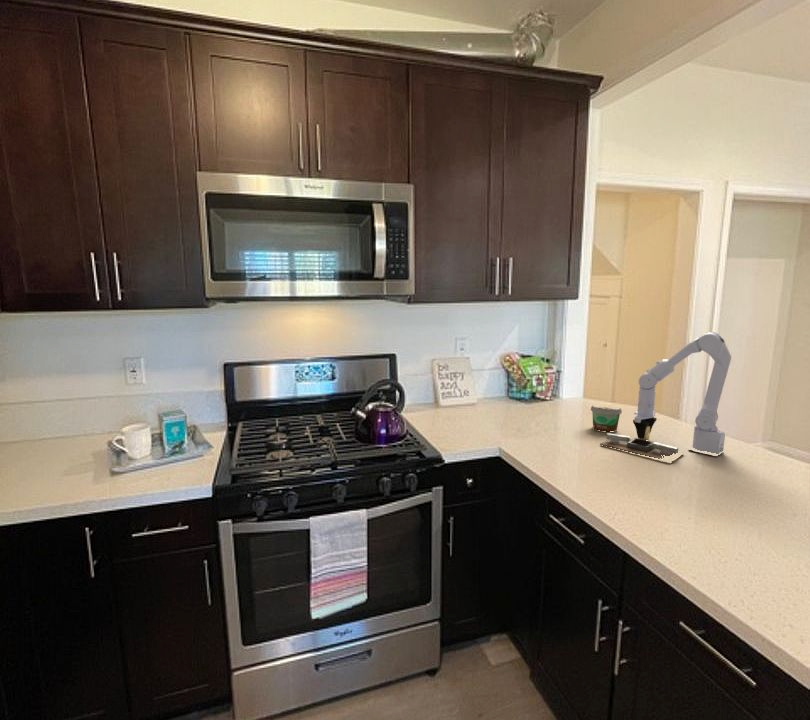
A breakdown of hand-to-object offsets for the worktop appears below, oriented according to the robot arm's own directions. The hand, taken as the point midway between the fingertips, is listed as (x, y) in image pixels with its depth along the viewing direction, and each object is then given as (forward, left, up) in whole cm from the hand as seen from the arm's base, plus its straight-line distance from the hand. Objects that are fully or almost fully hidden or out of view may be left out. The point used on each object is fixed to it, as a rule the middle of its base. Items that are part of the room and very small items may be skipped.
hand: (643, 436), depth 187 cm
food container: (+16, 0, -2) cm, 16 cm away
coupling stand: (-4, +12, -2) cm, 13 cm away
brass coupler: (0, 0, -2) cm, 2 cm away
